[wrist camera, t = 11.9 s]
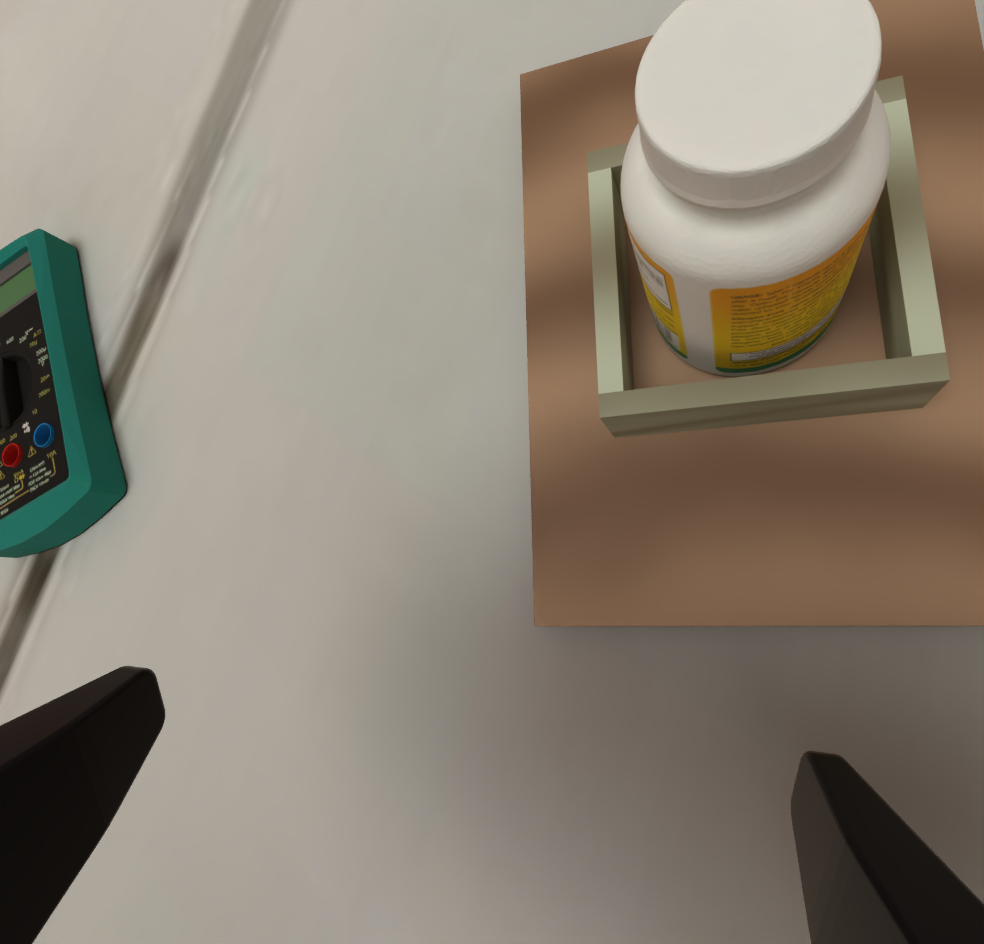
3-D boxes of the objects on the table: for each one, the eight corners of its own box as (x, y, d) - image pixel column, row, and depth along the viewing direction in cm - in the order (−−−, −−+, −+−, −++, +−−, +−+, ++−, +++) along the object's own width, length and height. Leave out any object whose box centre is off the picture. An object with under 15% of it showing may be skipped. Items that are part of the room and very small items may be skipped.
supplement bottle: (624, 343, 21) (541, 162, 12) (702, 196, 21) (676, -92, 12) (789, 410, 19) (832, 249, 10) (876, 246, 19) (995, -57, 10)
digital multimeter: (25, 572, 31) (-44, 569, 28) (-14, 314, 35) (-76, 290, 33) (142, 507, 29) (81, 497, 26) (86, 245, 34) (28, 214, 31)
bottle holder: (1070, 624, 17) (1150, 630, 14) (543, 624, 21) (509, 629, 18) (953, -28, 21) (994, -144, 17) (527, 93, 25) (497, 19, 22)
